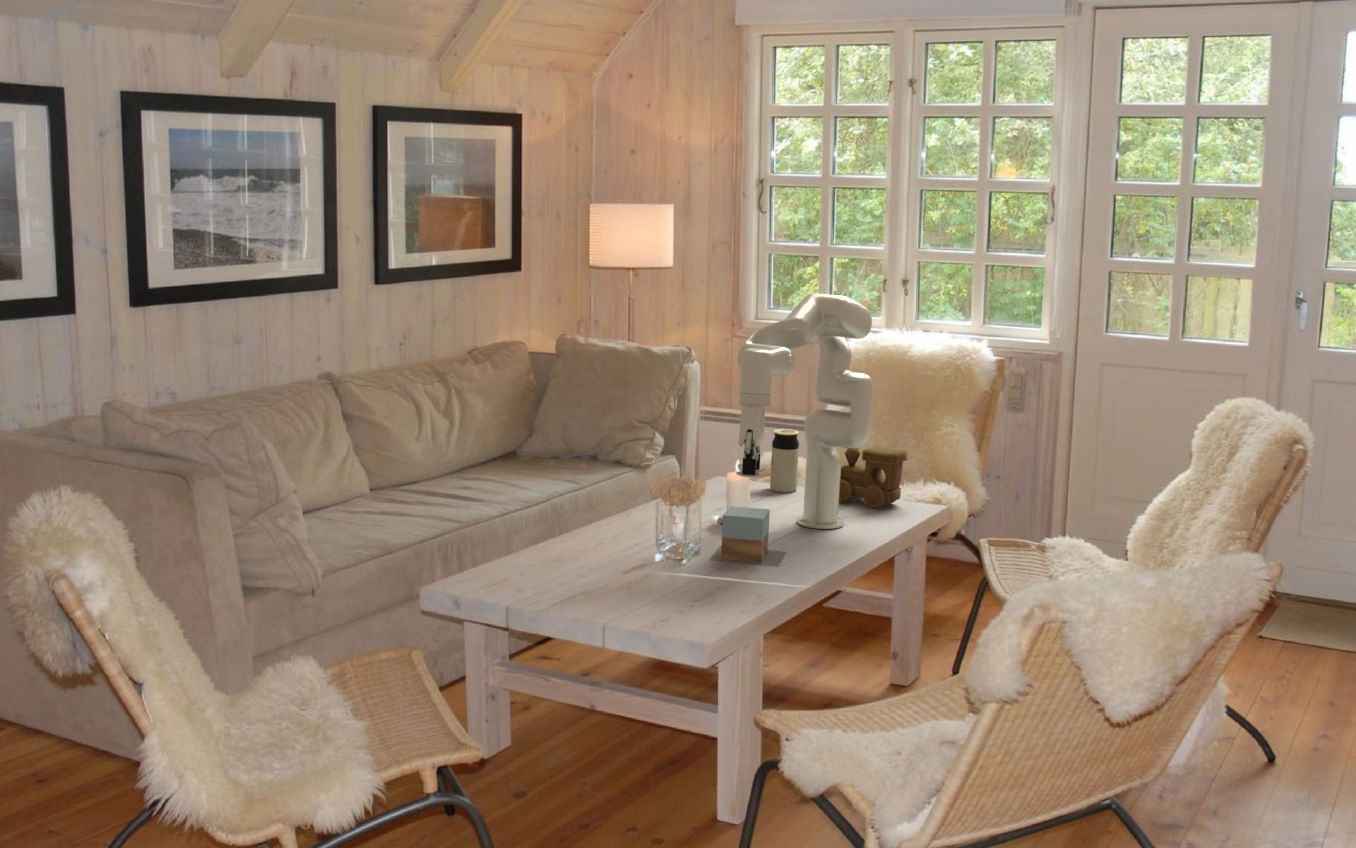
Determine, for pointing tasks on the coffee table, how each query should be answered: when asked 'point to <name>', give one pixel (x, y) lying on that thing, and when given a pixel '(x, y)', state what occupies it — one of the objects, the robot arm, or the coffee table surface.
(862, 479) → the wooden toy train
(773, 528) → the coffee table surface
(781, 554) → the mat
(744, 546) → the bottom block
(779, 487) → the travel mug
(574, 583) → the coffee table surface
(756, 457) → the pacifier
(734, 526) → the top block
